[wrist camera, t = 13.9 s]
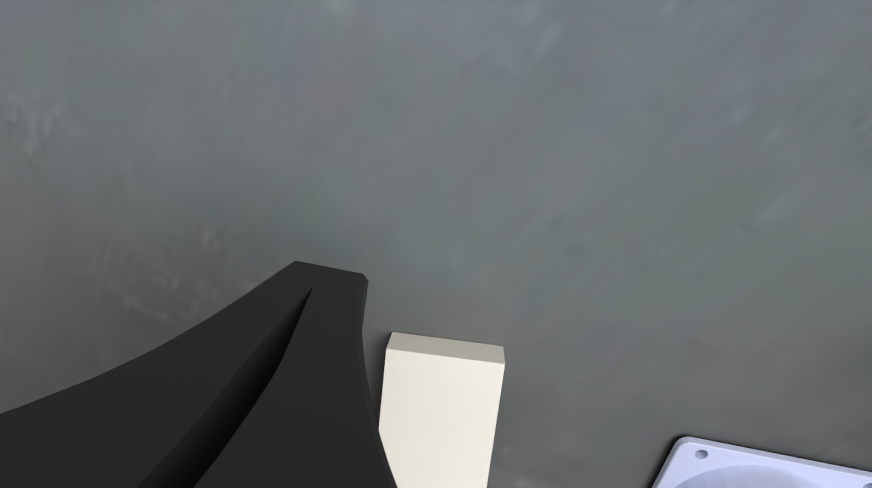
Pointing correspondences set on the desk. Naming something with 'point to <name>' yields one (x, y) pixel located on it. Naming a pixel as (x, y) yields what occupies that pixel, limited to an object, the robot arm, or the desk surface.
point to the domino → (440, 410)
